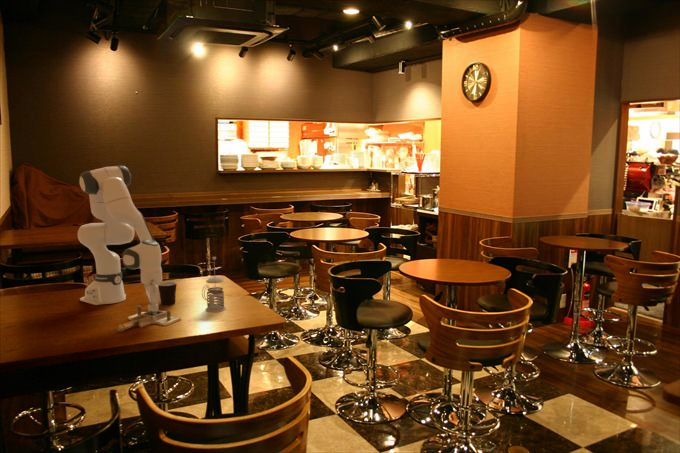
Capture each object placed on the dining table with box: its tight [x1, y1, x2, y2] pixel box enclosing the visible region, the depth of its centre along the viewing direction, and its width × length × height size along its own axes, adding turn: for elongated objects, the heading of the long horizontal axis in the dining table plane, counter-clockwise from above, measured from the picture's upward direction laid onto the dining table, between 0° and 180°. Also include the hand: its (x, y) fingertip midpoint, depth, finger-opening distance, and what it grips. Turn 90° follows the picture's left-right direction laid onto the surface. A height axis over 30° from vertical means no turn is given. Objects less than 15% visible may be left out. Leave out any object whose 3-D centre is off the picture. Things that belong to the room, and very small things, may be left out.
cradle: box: [127, 305, 182, 328], centre depth 241 cm, size 22×15×5 cm
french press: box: [201, 256, 227, 313], centre depth 258 cm, size 10×12×25 cm
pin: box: [117, 320, 139, 333], centre depth 231 cm, size 9×3×3 cm, turn 154°
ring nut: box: [147, 303, 160, 316], centre depth 243 cm, size 4×4×5 cm
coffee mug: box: [158, 281, 178, 307], centre depth 271 cm, size 12×9×10 cm
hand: (153, 308), depth 243 cm, fingers closed on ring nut, 4 cm apart
